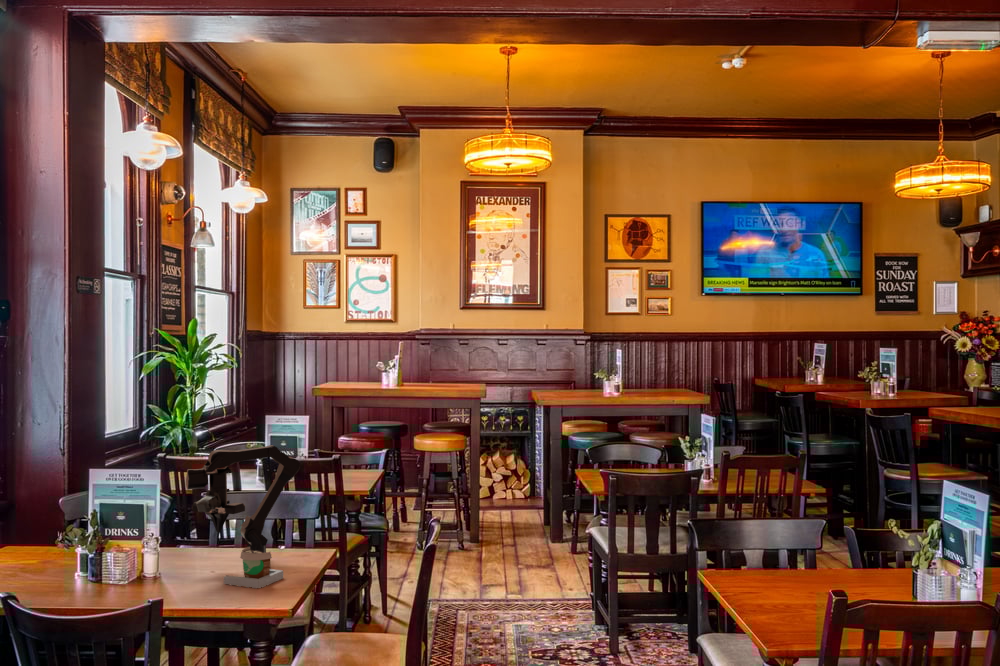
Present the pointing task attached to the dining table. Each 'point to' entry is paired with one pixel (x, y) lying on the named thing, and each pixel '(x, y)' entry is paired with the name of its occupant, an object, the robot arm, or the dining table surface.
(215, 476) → the robot arm
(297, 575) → the dining table surface
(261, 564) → the food container
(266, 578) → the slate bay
